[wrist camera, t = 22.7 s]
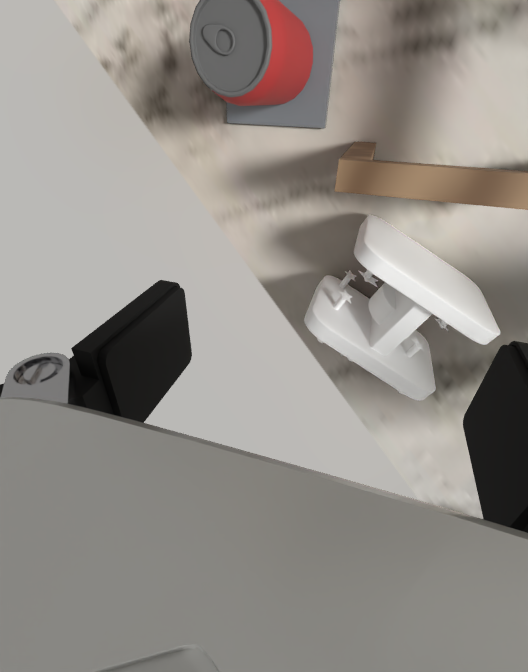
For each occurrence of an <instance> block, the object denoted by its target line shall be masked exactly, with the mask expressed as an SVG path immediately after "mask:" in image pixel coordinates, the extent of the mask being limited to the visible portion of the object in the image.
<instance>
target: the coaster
mask: <svg viewBox="0 0 528 672" xmlns="http://www.w3.org/2000/svg"><path fill="white" fill-rule="evenodd" d="M279 1H280V2H281V3H282V4H283V5H284V6H285V7H287V8H288V9H289V10H290V11H291V12H292V13H293V14H294V15H296V16H297V17H298V18H299V19H300V20H301V21H302V22H303V24H304V25H305V27H306V29H307V30H308V32H309V35H310V38H311V42H312V46H313V65H312V69H311V73H310V77H309V79H308V81H307V83H306V85H305V86H304V88H303V90H302V91H301V92H300V93H299V94H298V95H297V96H296V97H295V98H294V99H292V100H290V101H288V102H287V103H285V104H277V105H256V106H238V105H235V104H231V103H228V102H227V123H238V124H257V125H275V126H294V127H312V128H326V119H327V111H328V102H329V93H330V84H331V75H332V66H333V57H334V48H335V39H336V30H337V21H338V13H339V4H340V0H279Z"/></svg>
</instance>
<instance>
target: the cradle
mask: <svg viewBox="0 0 528 672" xmlns="http://www.w3.org/2000/svg"><path fill="white" fill-rule="evenodd" d="M375 148H376V143H371V142H354V143H353V144H352V146H351V147H350V148H349V149H348V150H347V151H346V152H345V153H344V154H343V156H342V157H341V158H340V159H339V162H338V170H337V177H336V184H335V192H346V193H356V194H367V195H377V196H388V197H399V198H409V199H420V200H430V201H441V202H451V203H462V204H472V205H483V206H493V207H504V208H514V209H525V210H528V171H517V170H503V169H489V168H476V167H462V166H448V165H434V164H421V163H407V162H393V161H379V160H373V158H374V153H375Z"/></svg>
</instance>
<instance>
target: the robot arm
mask: <svg viewBox="0 0 528 672" xmlns="http://www.w3.org/2000/svg"><path fill="white" fill-rule="evenodd" d="M72 351H73V354H74V356H73V357H72V358H70V359H68V358H67V357H66V356H65V355H62V354H59V353H44V354H39V355H35V356H32V357H29V358H27V359H25V360H23V361H21V362H19V363H18V364H16V365H15V366H14V367H13V368H12V369H11V370H10V371H9V372H8V374H7V376H6V379H5V383H4V384H1V385H0V672H528V343H523V342H517V341H513V342H511V343H510V344H509V345H502V346H501V347H500V349H499V351H498V353H497V354H496V356H495V358H494V360H493V362H492V364H491V366H490V368H489V370H488V371H487V373H486V375H485V377H484V379H483V381H482V383H481V385H480V387H479V389H478V390H477V392H476V394H475V396H474V398H473V400H472V402H471V404H470V406H469V408H468V409H467V411H466V413H465V416H464V420H463V428H464V432H465V437H466V441H467V446H468V450H469V455H470V459H471V464H472V468H473V473H474V477H475V482H476V487H477V491H478V496H479V500H480V505H481V509H482V514H483V518H484V520H483V519H480V518H477V517H473V516H470V515H467V514H463V513H460V512H457V511H454V510H450V509H447V508H444V507H440V506H437V505H433V504H430V503H426V502H423V501H419V500H416V499H412V498H409V497H405V496H402V495H398V494H395V493H391V492H388V491H384V490H380V489H377V488H373V487H370V486H366V485H363V484H360V483H356V482H353V481H349V480H346V479H342V478H339V477H336V476H332V475H328V474H325V473H321V472H318V471H314V470H311V469H307V468H304V467H300V466H297V465H293V464H289V463H286V462H282V461H279V460H275V459H271V458H268V457H265V456H261V455H257V454H254V453H250V452H246V451H243V450H240V449H236V448H233V447H229V446H225V445H222V444H218V443H214V442H211V441H207V440H204V439H200V438H197V437H193V436H189V435H186V434H182V433H178V432H175V431H171V430H167V429H163V428H160V427H157V426H153V425H149V424H145V423H144V421H145V420H146V419H147V417H148V416H149V415H150V414H151V412H152V411H153V410H154V408H155V407H156V406H157V404H158V403H159V402H160V400H161V399H162V398H163V397H164V395H165V394H166V393H167V391H168V390H169V389H170V388H171V386H172V385H173V384H174V382H175V381H176V380H177V378H178V377H179V376H180V375H181V373H182V372H183V371H184V369H185V368H186V367H187V365H188V364H189V363H190V360H191V356H192V352H191V343H190V335H189V327H188V318H187V309H186V301H185V293H184V290H183V289H182V288H180V286H179V284H178V283H175V282H169V281H163V280H160V281H158V282H157V283H155V284H154V285H153V286H151V287H150V288H149V289H148V290H146V291H145V292H144V293H142V294H141V295H140V296H138V297H137V298H136V299H135V300H133V301H132V302H131V303H129V304H128V305H127V306H126V307H124V308H123V309H122V310H120V311H119V312H118V313H117V314H115V315H114V316H113V317H111V318H110V319H109V320H107V321H106V322H105V323H104V324H102V325H101V326H100V327H98V328H97V329H96V330H94V331H93V332H92V333H91V334H89V335H88V336H87V337H85V338H84V339H83V340H82V341H80V342H79V343H78V344H76V345H75V346H74V347H72Z"/></svg>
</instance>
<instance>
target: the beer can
mask: <svg viewBox="0 0 528 672" xmlns="http://www.w3.org/2000/svg"><path fill="white" fill-rule="evenodd" d="M189 42H190V49H191V56H192V60H193V63H194V65H195V68H196V70H197V73H198V75H199V76H200V77H201V79H202V80H203V82H204V83H205V84H206V86H208V87H209V88H210V89H211V90H212V91H213V92H214V93H216V94H217V95H218V96H220V97H221V98H222V99H223V100H225V101H226V102H228V103H231V104H235V105H238V106H256V105H277V104H285V103H287V102H288V101H290V100H292V99H294V98H295V97H296V96H297V95H298V94H299V93H300V92H301V91H302V90H303V88H304V86H305V85H306V83H307V81H308V79H309V77H310V73H311V69H312V65H313V46H312V42H311V38H310V35H309V32H308V30H307V29H306V27H305V25H304V24H303V22H302V21H301V20H300V19H299V18H298V17H297V16H296V15H294V14H293V13H292V12H291V11H290V10H289V9H288V8H287V7H285V6H284V5H283V4H282V3H281V2H280V1H279V0H200V1H199V3H198V4H197V6H196V8H195V11H194V14H193V17H192V21H191V24H190V39H189Z"/></svg>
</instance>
